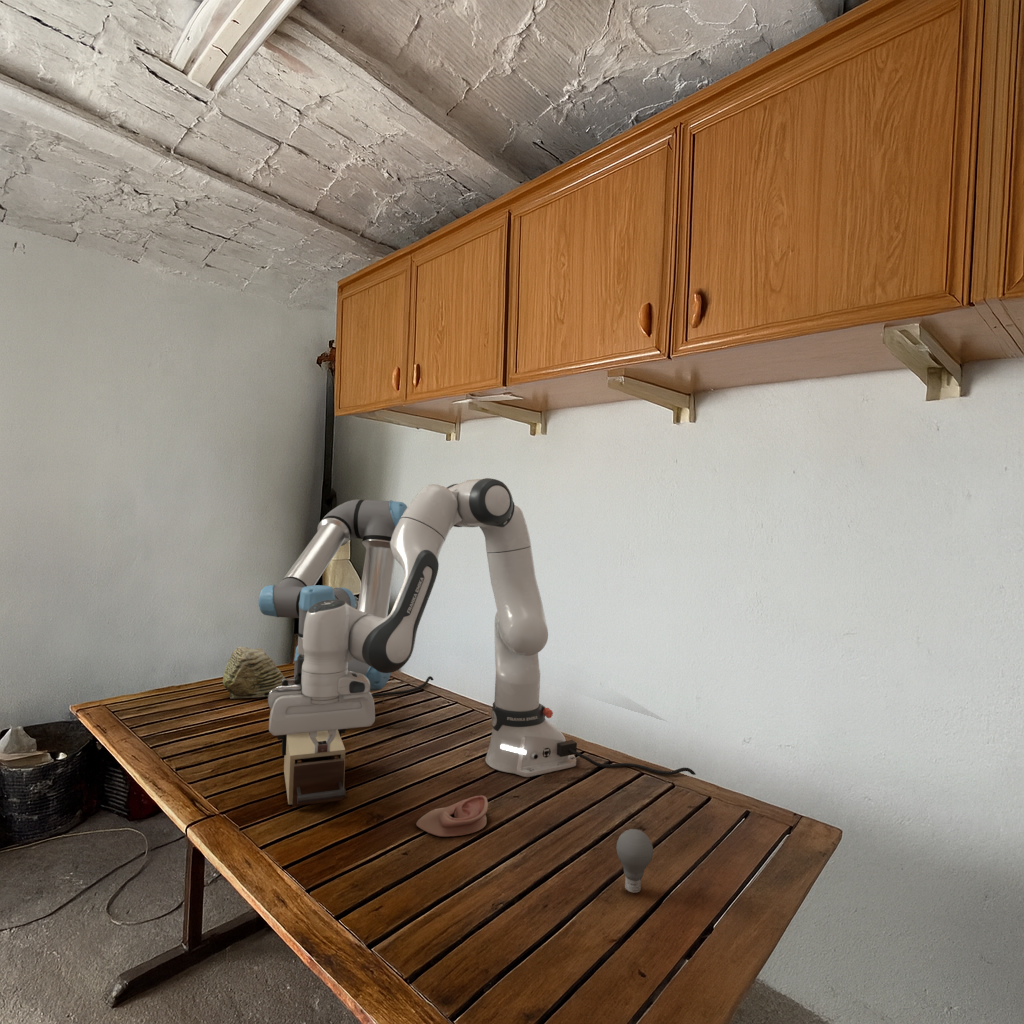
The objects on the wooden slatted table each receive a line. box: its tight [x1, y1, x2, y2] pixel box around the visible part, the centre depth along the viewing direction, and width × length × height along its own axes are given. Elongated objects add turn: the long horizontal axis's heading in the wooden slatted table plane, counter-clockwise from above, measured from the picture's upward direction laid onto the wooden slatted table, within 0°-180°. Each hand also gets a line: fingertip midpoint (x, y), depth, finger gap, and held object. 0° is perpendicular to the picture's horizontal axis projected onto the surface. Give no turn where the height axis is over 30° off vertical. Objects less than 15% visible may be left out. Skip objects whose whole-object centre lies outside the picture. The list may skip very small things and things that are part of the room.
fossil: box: [222, 646, 286, 699], centre depth 198 cm, size 9×18×15 cm, turn 132°
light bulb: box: [615, 828, 654, 894], centre depth 106 cm, size 6×6×10 cm
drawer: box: [291, 755, 347, 808], centre depth 133 cm, size 21×10×8 cm, turn 23°
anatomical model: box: [415, 795, 489, 838], centre depth 125 cm, size 13×4×12 cm
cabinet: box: [283, 730, 346, 806], centre depth 139 cm, size 17×11×10 cm, turn 23°
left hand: (311, 750), depth 144 cm, fingers closed on cabinet, 11 cm apart
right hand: (321, 751), depth 126 cm, fingers closed
